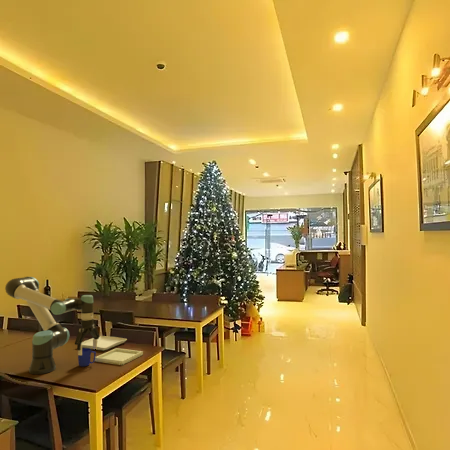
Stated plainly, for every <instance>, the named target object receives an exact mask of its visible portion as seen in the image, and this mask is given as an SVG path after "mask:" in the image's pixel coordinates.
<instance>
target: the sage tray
mask: <svg viewBox="0 0 450 450" xmlns="http://www.w3.org/2000/svg"><path fill="white" fill-rule="evenodd" d="M143 355H144V351H143V350H142V351H141V350H133V349H126V348H119V347H118V348H116V347H115V348H114V349H111V350H109V351H107V352H106V351H105V352H104V353H101V354H99V355H97V356H96V357H95V361H94V362H96V363H105V364H112V365H117V366H118V365H119V366H124V365H125V364H128V363H129V362H131V361H134V360H136V359H137V358H140V357H141V356H143Z"/></svg>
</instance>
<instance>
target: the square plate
mask: <svg viewBox="0 0 450 450" xmlns="http://www.w3.org/2000/svg"><path fill="white" fill-rule="evenodd" d="M99 336H100V337H99V339H97V349H96V350H97V351H107V350H110V349H111V348H114V347H117V346H119V345H122V344H123V343H126V341H127V340H128V339H127V338H125V337H124V338H123V337H117V336H105V335H99ZM93 339H94V338H93V337H92V338H90V339H86V340H83V341H82V343H81V345H82V348H90V349H91V350H94V349H93ZM96 350H95V351H96Z"/></svg>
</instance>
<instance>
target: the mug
mask: <svg viewBox="0 0 450 450" xmlns="http://www.w3.org/2000/svg"><path fill="white" fill-rule="evenodd" d="M92 353H93V361H91V356H92V355H91V354H92ZM96 355H97V352H96V350H95V351H93V350H92V349H90V348H82V355H78V354H77V361H78V366H79V367H81V368H82V367H87V366H89V365H90V364H93V363H95V362H96V361H95V357H97V356H96Z"/></svg>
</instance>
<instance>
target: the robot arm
mask: <svg viewBox="0 0 450 450" xmlns="http://www.w3.org/2000/svg"><path fill="white" fill-rule="evenodd" d="M4 290H5V292H6V294H7V295H8V296H9V297H11V298H14V299H16V300H22V301H26V303H27V305H28V307H29V308H30V309H31V311H32V314H34V317H35V318H36V320H37V321H38V323H39V325H40V326H41V329H42V331H38V332H36V333H34V335H32V341H31V343H32V345H31V346H32V350H31V351H32V353H31V354H32V357H31V363H30V365H29V367H28V373H29V374H31V375H44V374H48V373H51V372H53V371H55V370H56V366H57V365H56V363H55V359H54V350H55V349H57V348H59V347H60V348H61V347H63V346H64V345H66V344H67V343H68V341H69V340H70V331H69V330H68V329H67V328H66V327H63V326H62V325H61V323H59V322H57V321H56V320H55V318H54V316H53V315H56V316H57V315H62V314H65V313H69V312H72V311H80V314H81V315H80V319H81V321H80V322H81V323H80V325H81V328H78V330H77V331H78V332H77V334H76V338H75V341H74V345H76V346H77V349H76V350H77V356H78V355H82V345H81V343H82V342H84V339H85V337H86V336H87V335H88V334H89V335H91V337H92V338H94V339H93V349H92V350H95V349H97V339H99V337H100V336H101V335H100V334H99V331H98V328H97V324H95V323H94V321H95V320H94V303H95V302H94V296H93V295H92V294H84V295H81V297H80V298H74V297H73V298H72V297H69V298H68V297H67V298H66V299H64V300H60V299H58V298H55V297H53V296H50V295H47V294H44V293H43V292H40V282H39V280H38V279H37V278H36V277H33V276H24V277H16V278H12V279H10V280H9V281H7V283H6V285H5V288H4ZM50 311H51V312H50ZM52 314H53V315H52Z"/></svg>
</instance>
